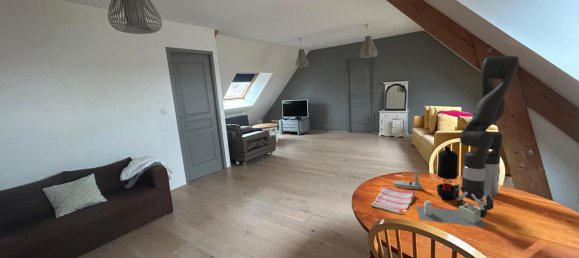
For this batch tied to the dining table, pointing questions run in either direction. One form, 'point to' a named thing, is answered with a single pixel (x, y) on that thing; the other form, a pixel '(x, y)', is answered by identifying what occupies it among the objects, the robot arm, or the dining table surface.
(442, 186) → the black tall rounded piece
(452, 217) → the board
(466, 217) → the collar
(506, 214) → the dining table surface
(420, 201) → the dining table surface
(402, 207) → the dish towel
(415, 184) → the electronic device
